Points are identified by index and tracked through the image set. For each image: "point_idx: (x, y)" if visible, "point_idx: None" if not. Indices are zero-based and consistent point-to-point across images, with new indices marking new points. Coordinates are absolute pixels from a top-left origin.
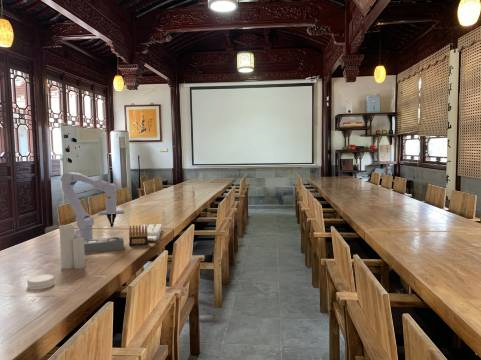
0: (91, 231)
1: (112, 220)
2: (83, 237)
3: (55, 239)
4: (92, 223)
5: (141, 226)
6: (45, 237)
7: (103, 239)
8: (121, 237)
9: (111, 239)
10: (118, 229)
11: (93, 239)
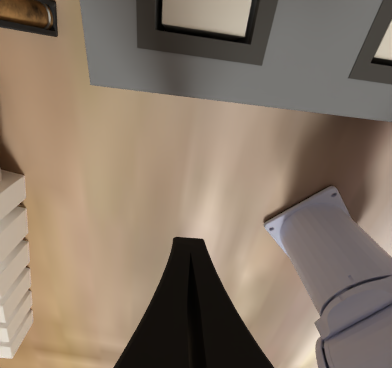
0: (329, 272)
1: (179, 329)
2: (365, 233)
3: None
4: (335, 357)
5: (4, 337)
6: None
7: (304, 50)
8: (99, 45)
9: (220, 23)
10: None
11: (376, 109)
